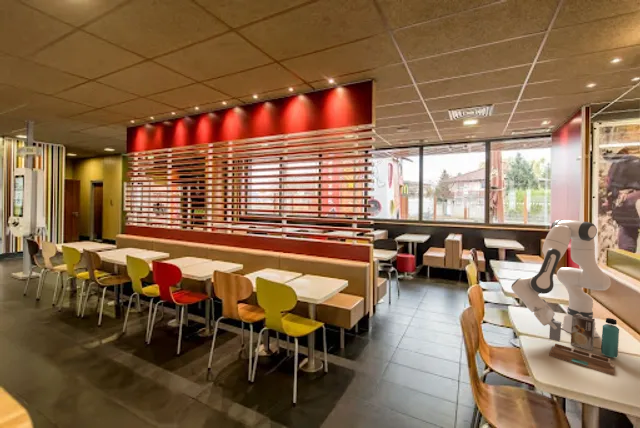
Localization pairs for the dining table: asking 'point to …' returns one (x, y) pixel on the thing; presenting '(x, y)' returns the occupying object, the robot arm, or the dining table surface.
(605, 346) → the beverage bottle
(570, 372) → the dining table surface
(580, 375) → the dining table surface
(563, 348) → the rack
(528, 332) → the dining table surface
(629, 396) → the dining table surface
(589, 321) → the coffee box
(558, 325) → the panel
